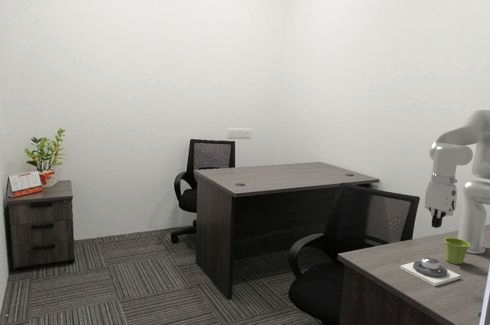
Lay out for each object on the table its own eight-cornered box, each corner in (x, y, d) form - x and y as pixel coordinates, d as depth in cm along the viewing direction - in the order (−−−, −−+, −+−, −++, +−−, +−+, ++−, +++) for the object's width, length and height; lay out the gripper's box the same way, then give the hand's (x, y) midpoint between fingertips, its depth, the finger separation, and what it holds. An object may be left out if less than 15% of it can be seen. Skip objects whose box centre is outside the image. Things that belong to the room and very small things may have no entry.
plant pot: (441, 254, 159) (444, 235, 158) (466, 260, 155) (469, 240, 153) (440, 262, 151) (443, 242, 150) (467, 268, 147) (470, 248, 145)
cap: (427, 265, 145) (429, 255, 144) (441, 272, 140) (443, 261, 139) (417, 268, 142) (418, 258, 142) (431, 275, 137) (432, 264, 136)
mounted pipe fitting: (424, 261, 151) (425, 256, 151) (460, 278, 138) (461, 272, 138) (399, 268, 144) (400, 262, 144) (434, 286, 131) (435, 280, 131)
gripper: (469, 183, 130) (461, 232, 133) (430, 174, 143) (424, 219, 146) (456, 185, 126) (448, 235, 130) (418, 175, 139) (412, 221, 143)
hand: (436, 226), depth 138 cm, fingers closed
